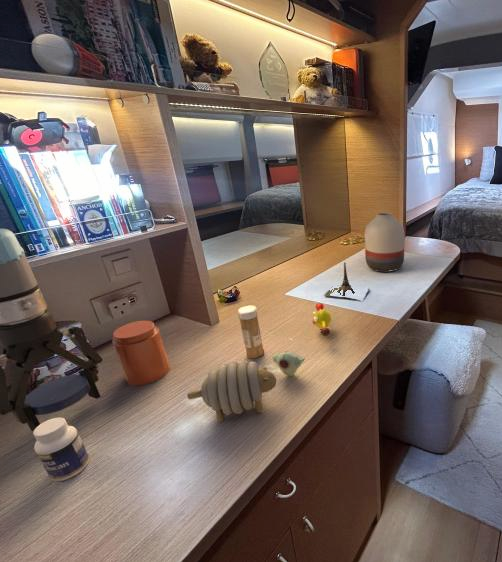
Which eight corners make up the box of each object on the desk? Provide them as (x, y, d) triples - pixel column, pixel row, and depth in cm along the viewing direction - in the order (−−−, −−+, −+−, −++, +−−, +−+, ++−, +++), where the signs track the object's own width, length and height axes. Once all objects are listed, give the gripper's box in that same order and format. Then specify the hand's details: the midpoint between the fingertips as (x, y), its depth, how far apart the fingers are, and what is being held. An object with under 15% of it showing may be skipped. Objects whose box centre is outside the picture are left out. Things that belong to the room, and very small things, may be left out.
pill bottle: (44, 487, 56) (19, 444, 52) (57, 461, 61) (35, 420, 57) (84, 475, 58) (63, 432, 54) (94, 450, 63) (75, 410, 59)
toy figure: (310, 318, 108) (308, 299, 105) (328, 316, 109) (326, 297, 106) (316, 349, 92) (314, 327, 89) (336, 346, 93) (334, 324, 90)
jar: (117, 383, 80) (99, 337, 76) (148, 360, 89) (133, 317, 84) (150, 387, 79) (134, 341, 74) (178, 363, 87) (165, 320, 82)
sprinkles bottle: (265, 355, 89) (257, 310, 84) (247, 360, 88) (238, 314, 82) (262, 347, 93) (255, 303, 88) (245, 351, 91) (236, 307, 86)
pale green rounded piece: (308, 372, 83) (305, 349, 80) (301, 383, 79) (298, 359, 76) (278, 368, 84) (274, 345, 82) (270, 379, 81) (266, 355, 78)
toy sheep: (282, 415, 70) (275, 370, 66) (192, 441, 64) (177, 395, 60) (276, 383, 79) (269, 343, 75) (196, 404, 73) (184, 362, 69)
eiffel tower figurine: (370, 289, 127) (369, 256, 122) (362, 301, 118) (361, 265, 113) (333, 286, 131) (331, 253, 126) (323, 297, 122) (320, 262, 117)
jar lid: (99, 391, 69) (95, 384, 68) (38, 422, 62) (34, 414, 61) (79, 376, 74) (76, 369, 73) (20, 403, 66) (16, 395, 66)
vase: (395, 276, 139) (395, 219, 130) (358, 271, 146) (356, 216, 136) (409, 264, 153) (410, 211, 144) (375, 259, 160) (374, 208, 150)
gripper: (-60, 354, 50) (8, 463, 58) (100, 294, 69) (133, 383, 77) (-83, 345, 52) (-15, 450, 61) (77, 289, 71) (111, 376, 80)
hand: (68, 412), depth 69 cm, fingers closed on jar lid, 9 cm apart
